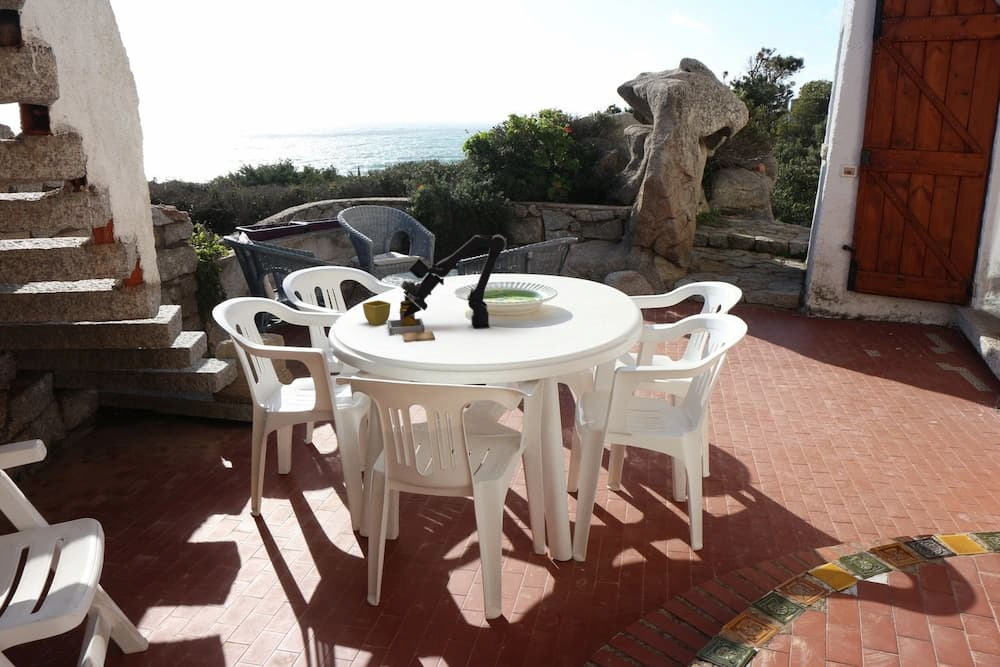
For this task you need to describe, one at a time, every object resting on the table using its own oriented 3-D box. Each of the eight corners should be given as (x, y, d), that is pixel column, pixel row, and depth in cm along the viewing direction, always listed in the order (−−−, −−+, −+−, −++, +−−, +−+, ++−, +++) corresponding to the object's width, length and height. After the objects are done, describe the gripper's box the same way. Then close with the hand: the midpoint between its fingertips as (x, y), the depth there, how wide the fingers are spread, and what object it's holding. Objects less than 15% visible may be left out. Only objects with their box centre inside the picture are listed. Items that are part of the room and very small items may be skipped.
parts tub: (421, 325, 310) (421, 318, 309) (424, 333, 298) (424, 325, 297) (388, 327, 307) (387, 320, 307) (389, 335, 295) (389, 328, 294)
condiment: (419, 330, 302) (417, 302, 299) (400, 333, 297) (399, 305, 294) (411, 326, 308) (409, 298, 305) (392, 329, 303) (391, 301, 300)
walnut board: (432, 333, 297) (432, 331, 297) (435, 340, 287) (435, 337, 287) (402, 335, 295) (402, 333, 294) (404, 342, 285) (404, 339, 285)
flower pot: (392, 323, 314) (391, 302, 312) (375, 327, 308) (374, 306, 305) (379, 320, 320) (378, 300, 317) (363, 324, 314) (361, 303, 311)
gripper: (407, 269, 306) (382, 298, 305) (418, 277, 289) (392, 307, 289) (426, 286, 311) (402, 314, 310) (438, 295, 294) (412, 324, 293)
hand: (401, 314), depth 300 cm, fingers closed on condiment, 6 cm apart
